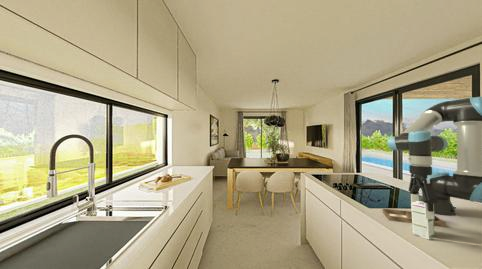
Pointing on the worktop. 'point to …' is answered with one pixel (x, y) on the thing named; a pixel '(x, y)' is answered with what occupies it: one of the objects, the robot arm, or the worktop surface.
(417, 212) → the syrup box
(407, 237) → the worktop surface
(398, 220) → the caddy
